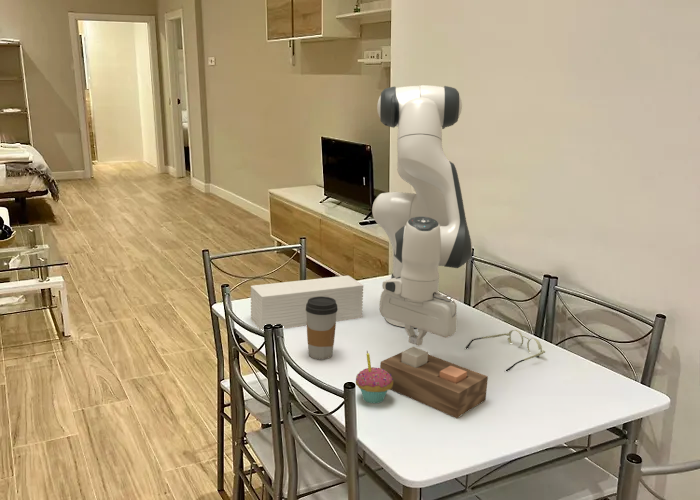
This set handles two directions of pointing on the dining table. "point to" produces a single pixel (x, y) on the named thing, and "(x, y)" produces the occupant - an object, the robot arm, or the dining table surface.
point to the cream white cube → (414, 357)
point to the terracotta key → (453, 374)
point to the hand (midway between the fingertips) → (415, 343)
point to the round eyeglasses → (519, 346)
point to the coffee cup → (321, 326)
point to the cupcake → (374, 383)
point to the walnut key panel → (436, 385)
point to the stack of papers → (304, 300)
